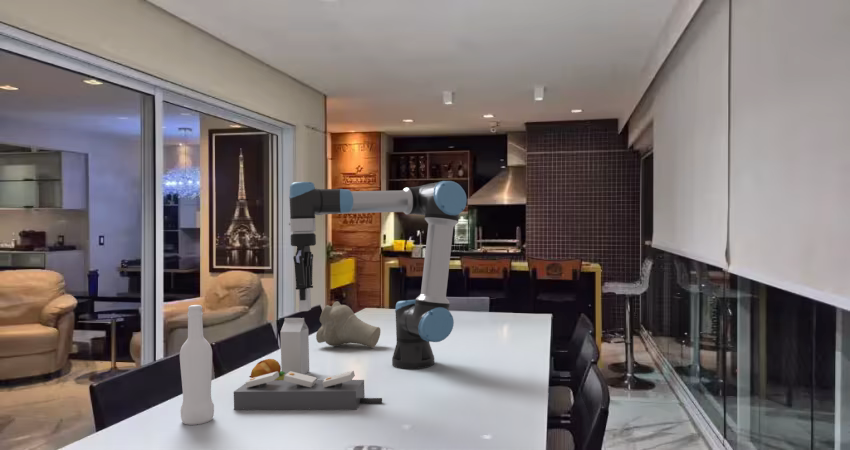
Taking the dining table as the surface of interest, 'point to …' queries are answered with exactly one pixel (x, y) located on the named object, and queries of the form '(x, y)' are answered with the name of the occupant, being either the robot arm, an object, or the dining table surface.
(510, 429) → the dining table surface
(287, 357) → the milk carton
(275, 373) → the rocker
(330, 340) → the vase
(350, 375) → the rocker
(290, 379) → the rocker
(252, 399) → the power strip
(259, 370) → the cheeseburger
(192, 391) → the bottle
